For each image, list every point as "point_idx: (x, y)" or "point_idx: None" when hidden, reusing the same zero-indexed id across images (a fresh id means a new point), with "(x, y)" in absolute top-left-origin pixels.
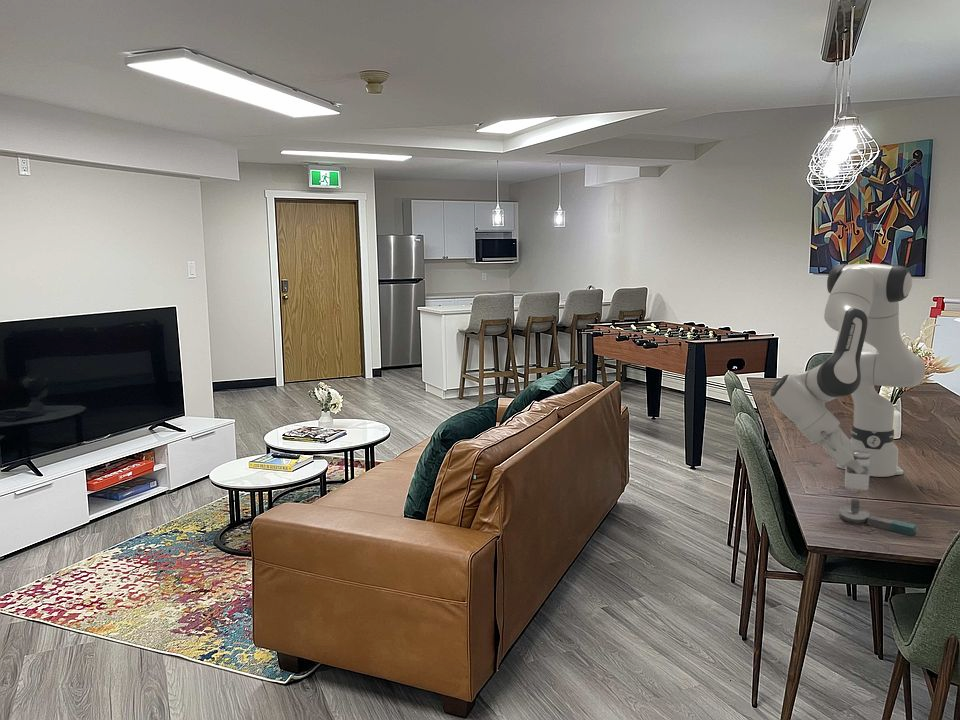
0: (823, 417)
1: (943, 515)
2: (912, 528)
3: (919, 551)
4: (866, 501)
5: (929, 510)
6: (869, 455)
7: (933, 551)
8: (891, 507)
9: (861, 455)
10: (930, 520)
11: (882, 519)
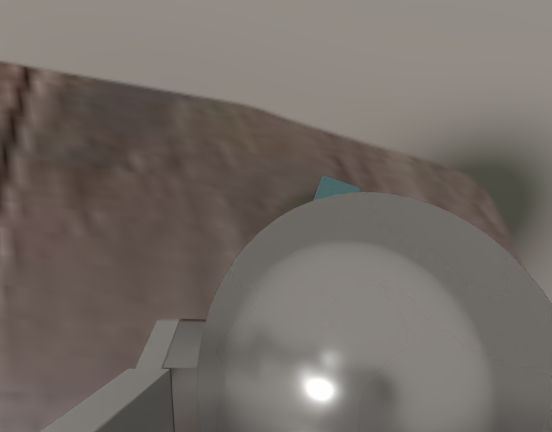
0: None
1: (129, 99)
2: (359, 190)
3: (468, 202)
4: (10, 306)
5: (88, 122)
6: (425, 210)
7: (445, 171)
8: (78, 222)
9: None
10: (187, 136)
11: None
